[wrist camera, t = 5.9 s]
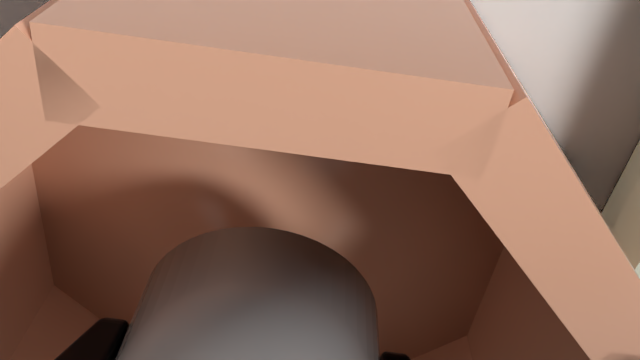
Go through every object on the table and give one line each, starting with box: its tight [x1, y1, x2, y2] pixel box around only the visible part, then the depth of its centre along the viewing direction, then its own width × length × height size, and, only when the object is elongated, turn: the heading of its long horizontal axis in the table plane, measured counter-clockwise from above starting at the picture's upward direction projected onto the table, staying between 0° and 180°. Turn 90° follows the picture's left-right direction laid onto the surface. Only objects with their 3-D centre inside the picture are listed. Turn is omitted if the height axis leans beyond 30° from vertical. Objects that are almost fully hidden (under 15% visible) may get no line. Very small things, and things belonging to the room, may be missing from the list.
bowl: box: [0, 0, 640, 360], centre depth 10 cm, size 11×11×4 cm
